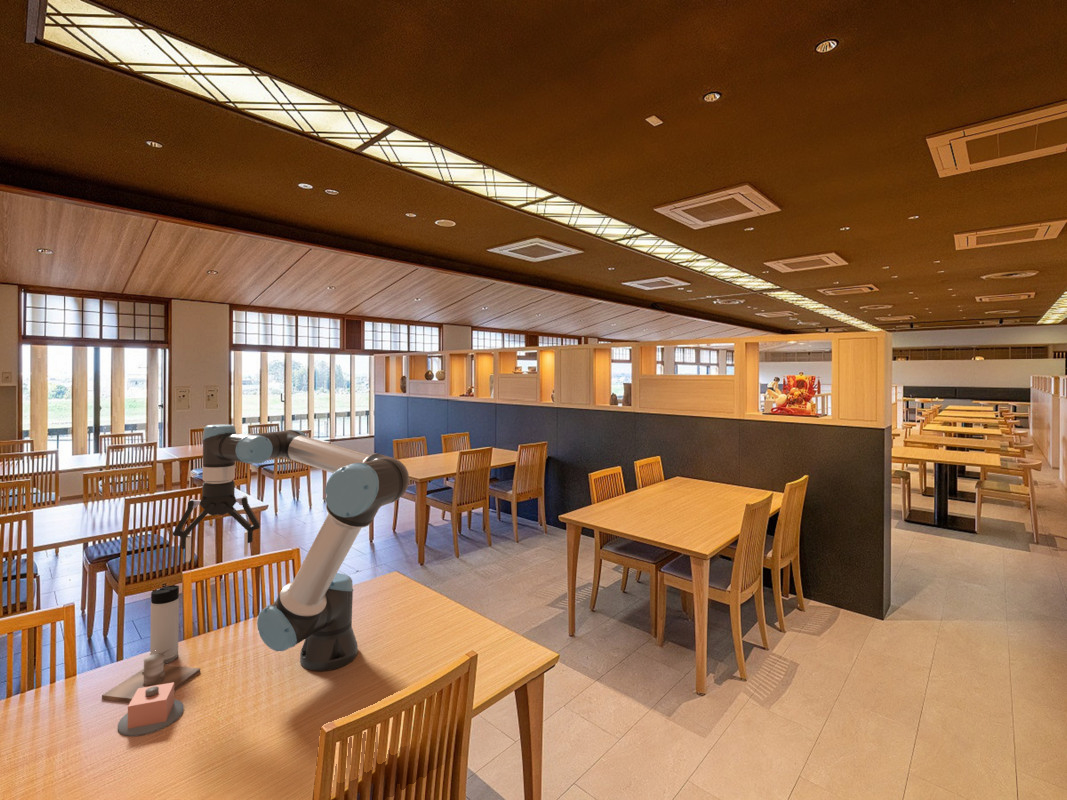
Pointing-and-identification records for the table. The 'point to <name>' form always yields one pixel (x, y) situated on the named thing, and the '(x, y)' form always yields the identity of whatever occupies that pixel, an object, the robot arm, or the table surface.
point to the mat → (147, 729)
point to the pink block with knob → (151, 705)
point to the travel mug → (165, 622)
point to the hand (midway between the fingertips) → (217, 557)
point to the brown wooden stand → (151, 678)
